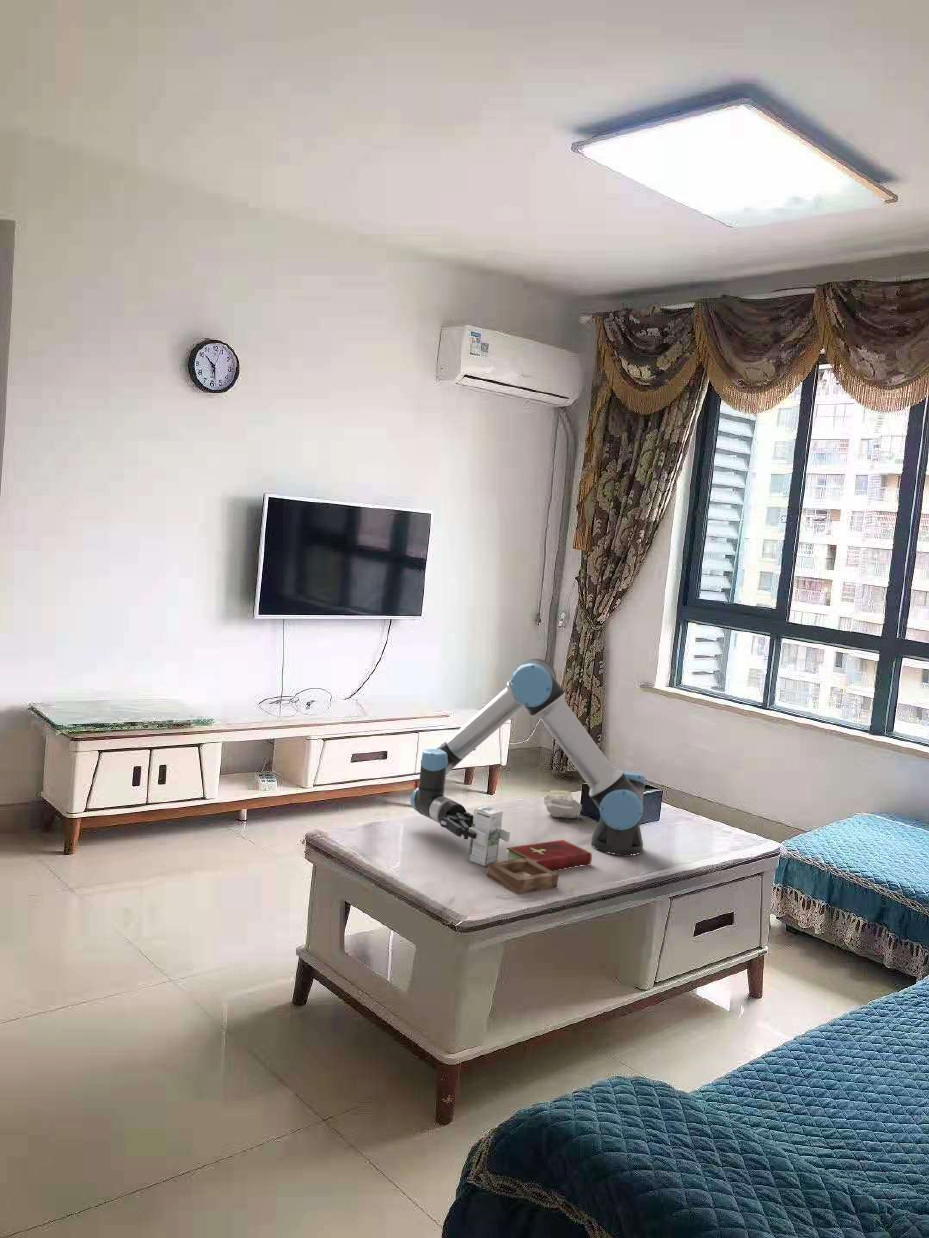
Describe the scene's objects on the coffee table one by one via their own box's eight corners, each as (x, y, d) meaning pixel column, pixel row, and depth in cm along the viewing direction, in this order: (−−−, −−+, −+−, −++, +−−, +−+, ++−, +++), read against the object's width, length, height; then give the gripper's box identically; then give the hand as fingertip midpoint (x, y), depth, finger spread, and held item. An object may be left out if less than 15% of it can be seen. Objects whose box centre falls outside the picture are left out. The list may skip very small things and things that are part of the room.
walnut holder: (525, 870, 274) (527, 857, 274) (557, 887, 264) (558, 874, 263) (486, 876, 267) (488, 863, 266) (517, 893, 256) (519, 880, 256)
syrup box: (479, 856, 281) (485, 804, 280) (497, 862, 278) (503, 810, 276) (467, 860, 276) (473, 808, 275) (485, 866, 273) (491, 813, 272)
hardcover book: (590, 866, 285) (592, 851, 284) (533, 876, 272) (535, 860, 272) (561, 852, 294) (563, 838, 294) (505, 861, 282) (506, 846, 281)
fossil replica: (585, 820, 329) (566, 814, 337) (589, 795, 329) (569, 789, 337) (556, 820, 322) (537, 813, 330) (559, 794, 322) (540, 788, 331)
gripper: (475, 822, 297) (524, 848, 278) (417, 829, 285) (464, 855, 267) (478, 797, 296) (527, 821, 278) (420, 803, 285) (467, 827, 266)
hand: (496, 838), depth 272 cm, fingers closed on syrup box, 7 cm apart
